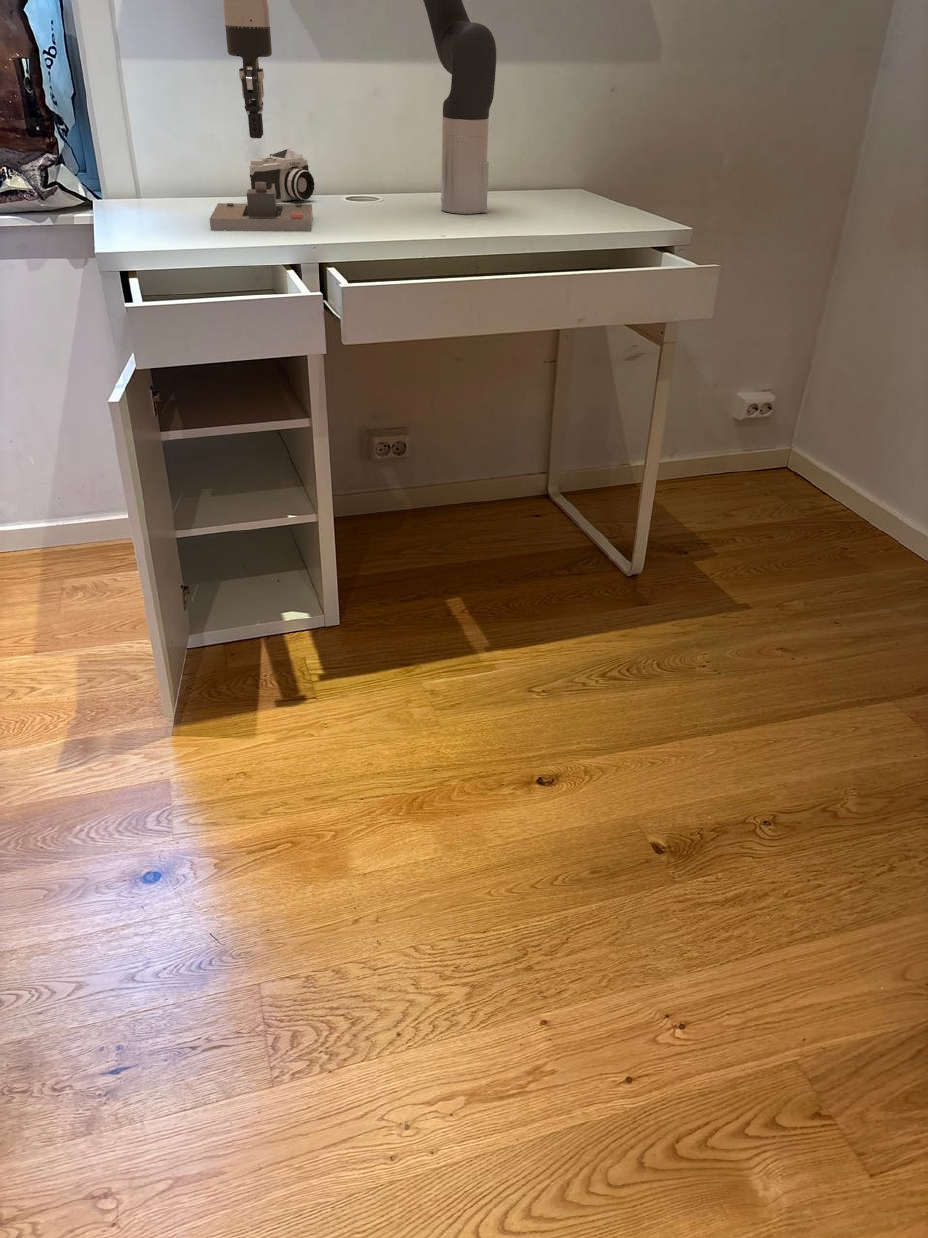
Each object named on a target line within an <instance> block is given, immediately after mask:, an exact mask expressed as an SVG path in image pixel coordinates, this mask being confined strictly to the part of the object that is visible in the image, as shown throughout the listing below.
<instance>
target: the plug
mask: <svg viewBox="0 0 928 1238" xmlns="http://www.w3.org/2000/svg"><path fill="white" fill-rule="evenodd" d="M246 201H247V203H246V204H248V214H249V216H264V217H277V204H278V203H276V190H267V189H266V182H255V189H251V188H250V189H249V188H248V189H247V192H246Z"/></svg>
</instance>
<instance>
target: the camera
mask: <svg viewBox="0 0 928 1238" xmlns="http://www.w3.org/2000/svg"><path fill="white" fill-rule="evenodd" d="M308 163H309V162H308V159H307V158H305V157H303V154H301V153H298V152H295V151H294V150H292V149H291V148H287V149H283V150H281V151H278V152H275V153H270V154H269V157H265V158H264V157H263V158H252V159H250V163H249V165H248V166H249V179H250V189H255V182H266V189H267V190H276V204H279V203H282V202H288V201H293V200H300V201H306V200H308V199H310V198H311V196H312V195H313V193H314V191H315V181H314V180H315V179H314V177H313V175H312V174H311V172H310V171H309V165H308Z"/></svg>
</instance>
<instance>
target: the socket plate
mask: <svg viewBox="0 0 928 1238" xmlns="http://www.w3.org/2000/svg"><path fill="white" fill-rule="evenodd" d="M276 204H277V217H264V216H249V214H248V203H237V202H236V203H235V202H234V203H233V202H227V203H226V202H223V203H221V202H219V203H217V205H216V206H215V208H214V210H213V212H212V214H211V215H210V217H209V225H210V226H209V227H210V231H212V232H213V231H214V232H218V231H219V232H222V231H223V232H225V231H226V232H300V233H301V232H307V233H308V232H310V233H311V232H312V226H313V219H314V217H313V216H314V215H313V203H312V204H311V203H310V204H307V203H276ZM224 230H225V231H224Z"/></svg>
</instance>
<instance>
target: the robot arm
mask: <svg viewBox="0 0 928 1238" xmlns="http://www.w3.org/2000/svg"><path fill="white" fill-rule="evenodd" d="M422 1H423V4H424V7H425V10H426V13H427V17H428V23H429V25H430V29H431V33H432V37H433V41H434V44H435V49H436V53H437V56H438V59H439V62H440V64H441V65H442V67H443V68H444V70H445V71H446V72H447V73H449V74H450V75H451V79H450V80H451V82H450V83H451V84H450V91H449V94H448V96H447V97H446V98H445V99H444V101H443V103H442V123H441V124H442V128H441V129H442V132H441V133H442V134H441V192H440V193H441V196H440V201H441V202H440V208H441V211H443V212H447V213H452V214H465V215H467V214H470V215H471V214H480V213H487V212H488V211H487V210H488V192H489V191H488V189H489V188H488V186H489V168H490V167H489V165H490V163H489V161H488V147H489V145H488V144H489V124H490V123H489V122H490V118H489V117H490V108H491V106H492V103H493V101H494V95H495V85H496V84H495V83H496V72H497V70H496V69H497V45H496V41H495V37H494V35H493V33H492V32H491V30H490V29H489V28H488V27H487V26H486V25H484V24H482V23H478V22H471V20H470V18H469V16H468V13H467V11H466V7H465V5H464V2H463V0H422ZM223 16H224V27H225V37H226V38H225V39H226V47H227V48H226V50H227V53H228V55H229V56H231V57H239V58H241V59H242V67H240V68H238V74H239V79H240V82H241V92H242V93H241V95H242V98H243V99H244V100H243V101H244V109H245V112H246V115H247V119H248V132H249V133H248V134H249V137H250V138H251V139H262V137H263V135H264V124H263V123H264V122H263V111H264V101H263V99H264V96H265V90H264V79H265V73H264V68H260V67H259V66H260V65H259V58H269V57H271V56H272V53H273V47H272V36H271V34H272V33H271V22H270V9H269V3H268V0H223Z"/></svg>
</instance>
